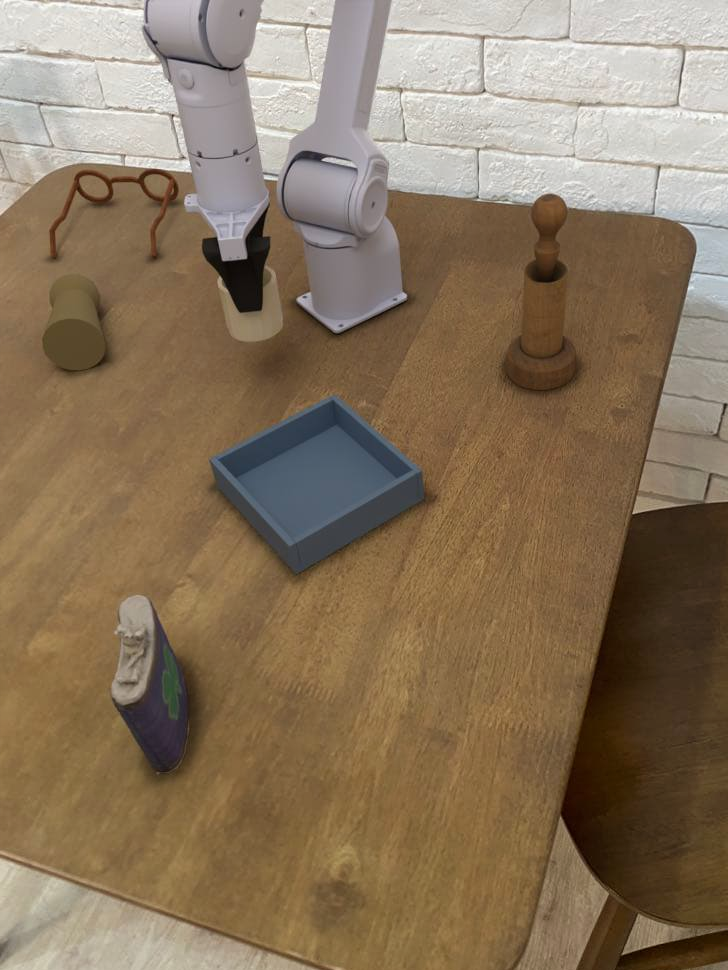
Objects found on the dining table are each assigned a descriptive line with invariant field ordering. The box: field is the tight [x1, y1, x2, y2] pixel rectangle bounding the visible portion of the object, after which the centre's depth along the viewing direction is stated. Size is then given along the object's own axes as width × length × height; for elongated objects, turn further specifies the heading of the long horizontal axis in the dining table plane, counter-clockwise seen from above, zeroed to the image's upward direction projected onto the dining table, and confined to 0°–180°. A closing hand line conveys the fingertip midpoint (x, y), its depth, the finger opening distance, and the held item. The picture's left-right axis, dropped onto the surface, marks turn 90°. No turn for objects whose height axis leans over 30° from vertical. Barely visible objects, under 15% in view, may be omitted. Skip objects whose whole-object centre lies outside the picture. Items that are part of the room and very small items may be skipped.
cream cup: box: [217, 265, 284, 343], centre depth 86 cm, size 5×5×5 cm
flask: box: [109, 594, 191, 776], centre depth 64 cm, size 9×3×11 cm, turn 8°
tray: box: [208, 393, 425, 575], centre depth 81 cm, size 13×13×4 cm
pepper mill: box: [41, 273, 106, 371], centre depth 98 cm, size 6×6×11 cm
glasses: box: [49, 168, 180, 259], centre depth 113 cm, size 13×13×5 cm
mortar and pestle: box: [505, 193, 577, 391], centre depth 85 cm, size 7×6×18 cm
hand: (250, 291), depth 85 cm, fingers closed on cream cup, 5 cm apart
